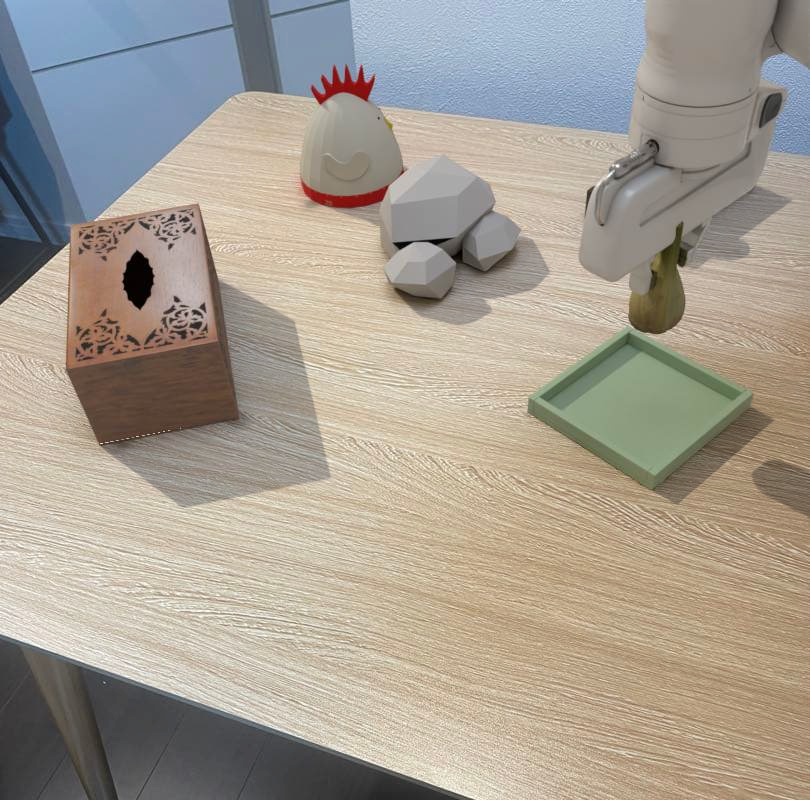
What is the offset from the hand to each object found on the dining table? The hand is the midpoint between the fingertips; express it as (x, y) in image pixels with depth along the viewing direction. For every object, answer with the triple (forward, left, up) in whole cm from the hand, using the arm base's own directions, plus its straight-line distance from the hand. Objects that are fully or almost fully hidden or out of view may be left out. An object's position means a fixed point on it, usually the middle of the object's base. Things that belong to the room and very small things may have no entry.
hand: (662, 275), depth 80 cm
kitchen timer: (+56, -10, -16) cm, 59 cm away
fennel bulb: (0, 0, -5) cm, 5 cm away
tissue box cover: (+43, +29, -16) cm, 54 cm away
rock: (+35, -5, -16) cm, 39 cm away
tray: (0, 0, -16) cm, 16 cm away
